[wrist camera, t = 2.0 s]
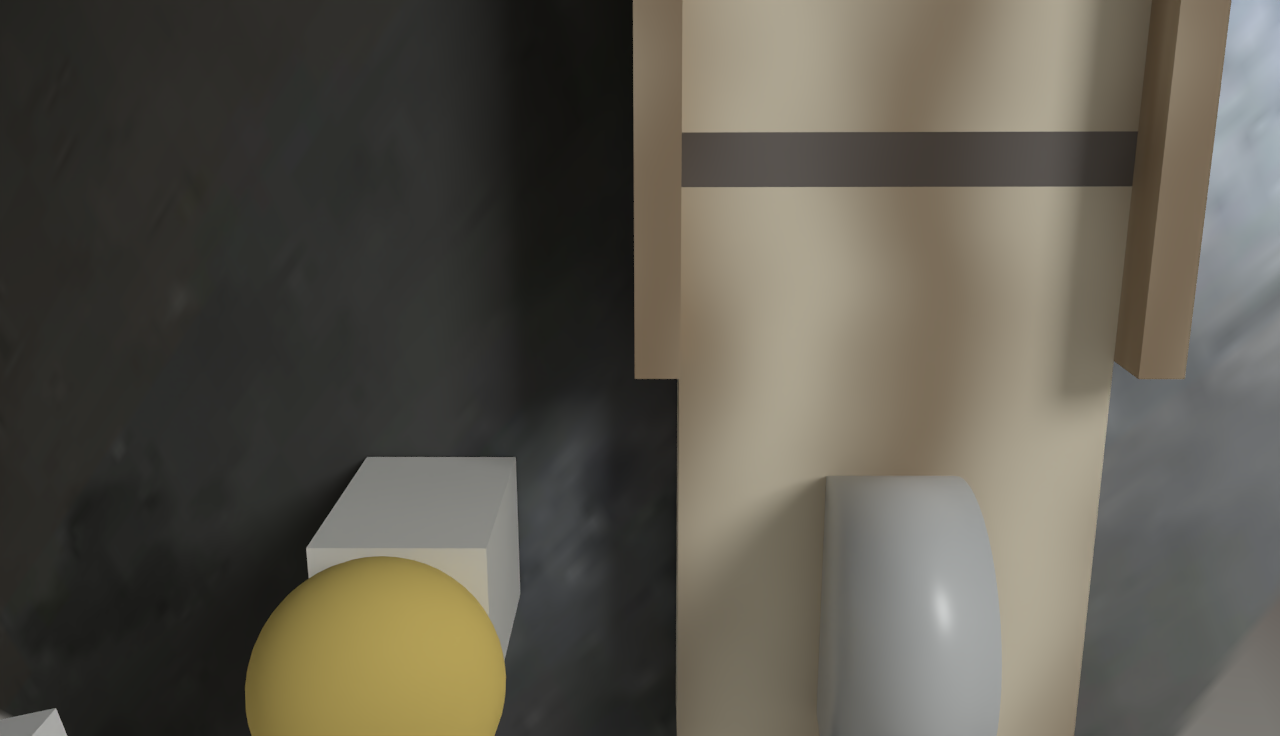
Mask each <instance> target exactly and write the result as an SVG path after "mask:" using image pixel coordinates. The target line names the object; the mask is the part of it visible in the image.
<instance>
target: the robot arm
mask: <svg viewBox="0 0 1280 736" xmlns="http://www.w3.org/2000/svg"><path fill="white" fill-rule="evenodd" d="M0 736H67V734H66V732H65V729H64V727H63V724H62V722H61V719H60V717H59V715H58V712H57V710H56V708H54V709H50V710H45V711H40V712H35V713H30V714H25V715H20V716H16V717H11V718H6V719H1V720H0Z"/></svg>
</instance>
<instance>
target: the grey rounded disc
mask: <svg viewBox="0 0 1280 736" xmlns="http://www.w3.org/2000/svg"><path fill="white" fill-rule="evenodd" d="M1001 682H1002V643H1001V623H1000V610H999V598H998V590H997V582H996V574H995V568H994V562H993V556H992V551H991V546H990V541H989V537H988V533H987V529H986V525H985V521H984V518H983V515H982V512H981V509H980V506H979V504H978V501H977V499H976V497H975V495H974V493H973V491H972V489H971V487H970V486H969V485H968V483H967V482H966V481H965V480H964V479H963V478H961V477H960V476H826V490H825V514H824V539H823V564H822V588H821V613H820V637H819V662H818V687H817V711H816V712H817V720H818V728H819V735H820V736H997V730H998V722H999V713H1000V701H1001Z"/></svg>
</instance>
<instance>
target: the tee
mask: <svg viewBox="0 0 1280 736" xmlns="http://www.w3.org/2000/svg"><path fill="white" fill-rule="evenodd" d="M306 552H307V564H308V576H309V578H311V577H312V576H314V575H315V574H317V573H319V572H321V571H323V570H325V569H327V568H329V567H331V566H334V565H337V564H340V563H343V562H346V561H350V560H353V559H359V558H364V557H375V556H388V557H399V558H405V559H410V560H415V561H418V562H421V563H424V564H427V565H430V566H432V567H434V568H436V569H439V570H440V571H442V572H444V573H445V574H447V575H449V576H450V577H452V578H454V579H455V580H456V581H457V582H459V583H460V584H461V585H463V586H464V587H465V588H466V589H467V590H468V591H469V592H470V593H471V594H472V595H473V596H474V597H475V598H476V599H477V601H478V602H479V603H480V604H481V606H482V607H483V608H484V610H485V611H486V613H487V615H488V617H489V618H490V620H491V622H492V624H493V626H494V628H495V631H496V633H497V635H498V638H499V640H500V644H501V648H502V652H503V656H504V660H505V656H506V651H507V647H508V643H509V639H510V635H511V630H512V626H513V622H514V618H515V614H516V609H517V605H518V601H519V597H520V568H519V538H518V508H517V478H516V457H367V458H366V459H365V461H364V462H363V464H362V465H361V467H360V468H359V470H358V471H357V473H356V474H355V476H354V477H353V479H352V480H351V482H350V483H349V485H348V486H347V488H346V489H345V491H344V492H343V494H342V495H341V497H340V498H339V500H338V501H337V503H336V504H335V506H334V507H333V509H332V510H331V512H330V513H329V515H328V516H327V518H326V519H325V521H324V522H323V524H322V525H321V527H320V528H319V530H318V531H317V533H316V534H315V536H314V537H313V539H312V540H311V542H310V543H309V545H308V546H307V548H306Z"/></svg>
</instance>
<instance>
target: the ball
mask: <svg viewBox="0 0 1280 736" xmlns="http://www.w3.org/2000/svg"><path fill="white" fill-rule="evenodd" d="M505 689H506V672H505V663H504V656H503V652H502V648H501V644H500V640H499V638H498V635H497V633H496V631H495V628H494V626H493V624H492V622H491V620H490V618H489V617H488V615H487V613H486V611H485V610H484V608H483V607H482V606H481V604H480V603H479V602H478V601H477V599H476V598H475V597H474V596H473V595H472V594H471V593H470V592H469V591H468V590H467V589H466V588H465V587H464V586H463V585H461V584H460V583H459V582H457V581H456V580H455V579H454V578H452V577H450V576H449V575H447V574H445V573H444V572H442V571H440V570H439V569H436V568H434V567H432V566H430V565H427V564H424V563H421V562H418V561H415V560H410V559H405V558H399V557H388V556H375V557H364V558H359V559H353V560H350V561H346V562H343V563H340V564H337V565H334V566H331V567H329V568H327V569H325V570H323V571H321V572H319V573H317V574H315V575H314V576H312V577H311V578H309V579H308V580H306V581H305V582H303V583H302V584H300V585H299V586H298V587H297V588H295V589H294V590H293V591H292V592H291V593H290V594H289V595H287V596H286V598H285V599H284V600H283V601H282V602H281V603H280V604H279V606H278V607H277V608H276V609H275V610H274V612H273V613H272V614H271V615H270V617H269V619H268V620H267V622H266V623H265V625H264V626H263V628H262V630H261V632H260V634H259V636H258V639H257V641H256V643H255V645H254V648H253V650H252V654H251V658H250V661H249V665H248V670H247V675H246V684H245V702H246V715H247V720H248V725H249V728H250V732H251V735H252V736H494V735H495V733H496V730H497V727H498V724H499V721H500V718H501V715H502V711H503V705H504V700H505Z"/></svg>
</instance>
